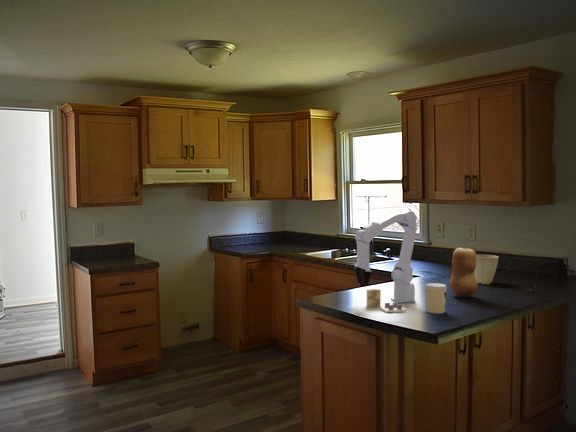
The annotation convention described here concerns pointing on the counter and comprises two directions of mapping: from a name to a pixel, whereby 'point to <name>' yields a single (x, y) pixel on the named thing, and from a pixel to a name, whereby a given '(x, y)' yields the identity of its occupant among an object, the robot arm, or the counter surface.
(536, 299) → the counter surface
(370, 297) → the wooden block
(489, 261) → the plant pot
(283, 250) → the counter surface
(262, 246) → the counter surface
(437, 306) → the coffee cup
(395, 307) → the cream pegged base plate
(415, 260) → the counter surface
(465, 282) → the butternut squash
